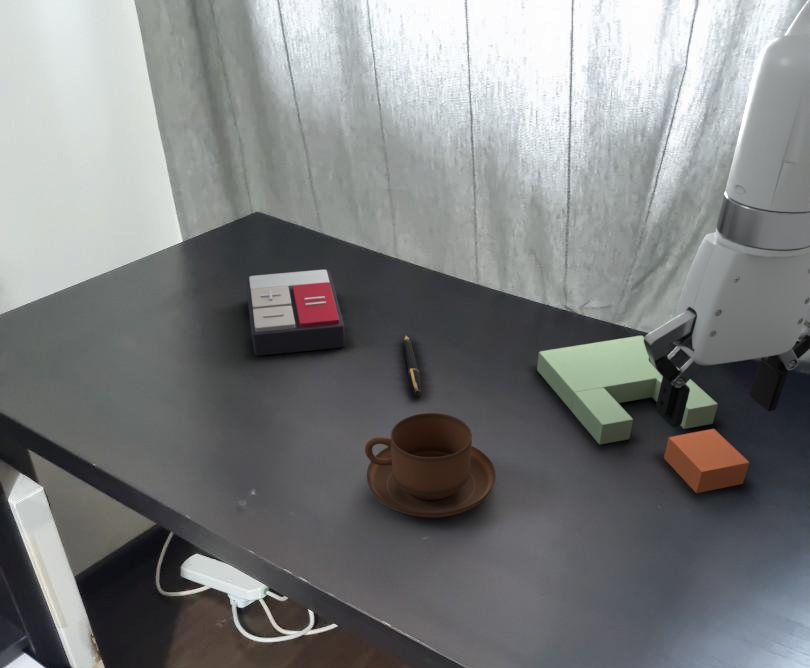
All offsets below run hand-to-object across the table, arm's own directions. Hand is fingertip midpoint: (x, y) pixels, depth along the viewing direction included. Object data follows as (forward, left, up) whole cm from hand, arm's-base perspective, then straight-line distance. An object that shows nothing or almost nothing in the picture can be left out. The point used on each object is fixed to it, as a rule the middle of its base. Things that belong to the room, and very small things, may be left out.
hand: (715, 411), depth 75 cm
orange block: (0, 0, -7) cm, 7 cm away
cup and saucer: (+26, -5, -7) cm, 27 cm away
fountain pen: (+21, -28, -7) cm, 36 cm away
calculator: (+32, -43, -7) cm, 54 cm away
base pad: (+1, -15, -7) cm, 17 cm away
